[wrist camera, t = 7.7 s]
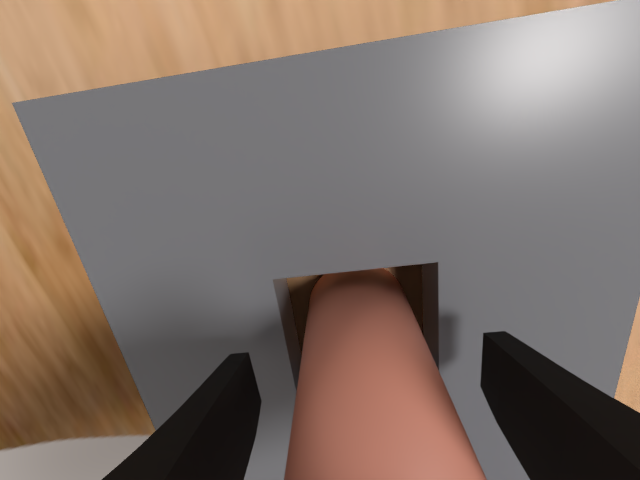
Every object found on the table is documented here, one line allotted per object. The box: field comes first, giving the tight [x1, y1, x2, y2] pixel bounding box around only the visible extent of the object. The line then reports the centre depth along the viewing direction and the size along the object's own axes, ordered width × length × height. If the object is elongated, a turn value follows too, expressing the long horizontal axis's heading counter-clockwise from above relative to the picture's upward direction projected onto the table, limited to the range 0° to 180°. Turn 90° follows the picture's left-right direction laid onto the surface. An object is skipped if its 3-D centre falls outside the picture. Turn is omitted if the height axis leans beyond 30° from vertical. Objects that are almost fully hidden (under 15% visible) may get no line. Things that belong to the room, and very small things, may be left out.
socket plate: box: [12, 0, 640, 480], centre depth 12 cm, size 18×18×2 cm
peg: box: [284, 268, 487, 480], centre depth 9 cm, size 4×4×8 cm
